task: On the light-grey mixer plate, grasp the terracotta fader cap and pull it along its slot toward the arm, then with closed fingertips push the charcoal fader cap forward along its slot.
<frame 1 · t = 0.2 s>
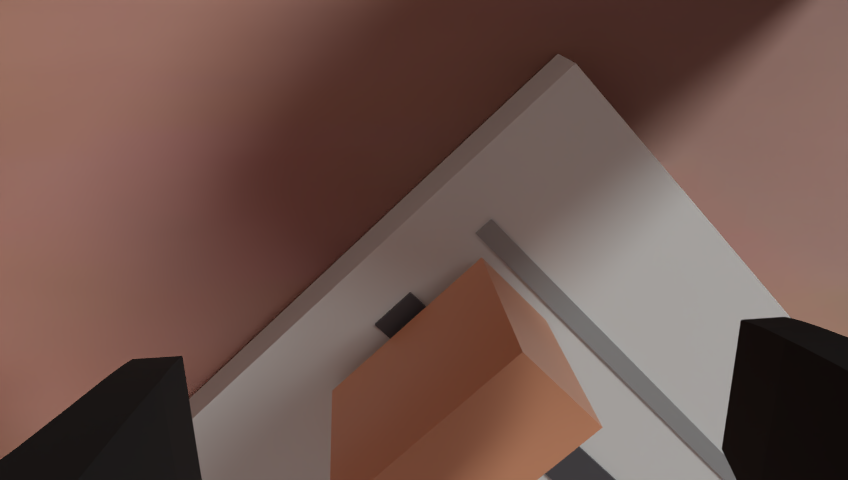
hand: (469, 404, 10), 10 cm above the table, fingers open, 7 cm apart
fader a: (450, 406, 17), point 4 cm above the table, slide at 8.0 cm
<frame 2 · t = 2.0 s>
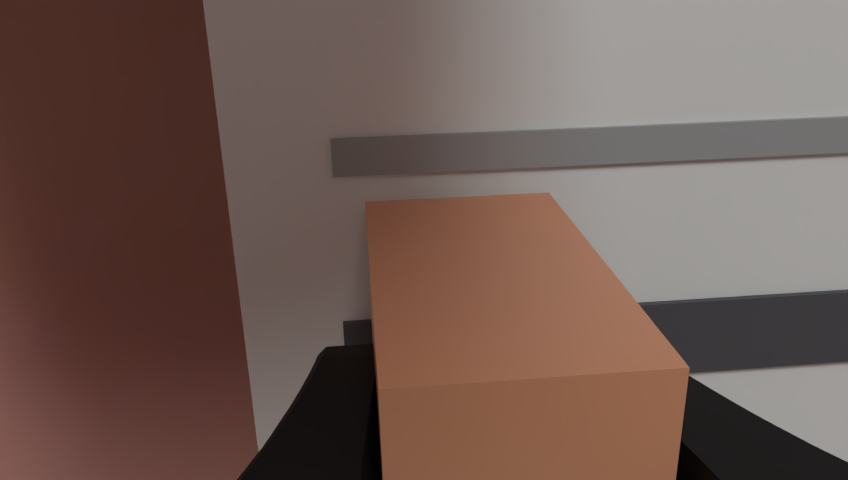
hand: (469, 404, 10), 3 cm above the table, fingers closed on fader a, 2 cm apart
mixer plate: (707, 478, 14), on the table
fader a: (484, 463, 9), point 4 cm above the table, slide at 8.0 cm, touching gripper
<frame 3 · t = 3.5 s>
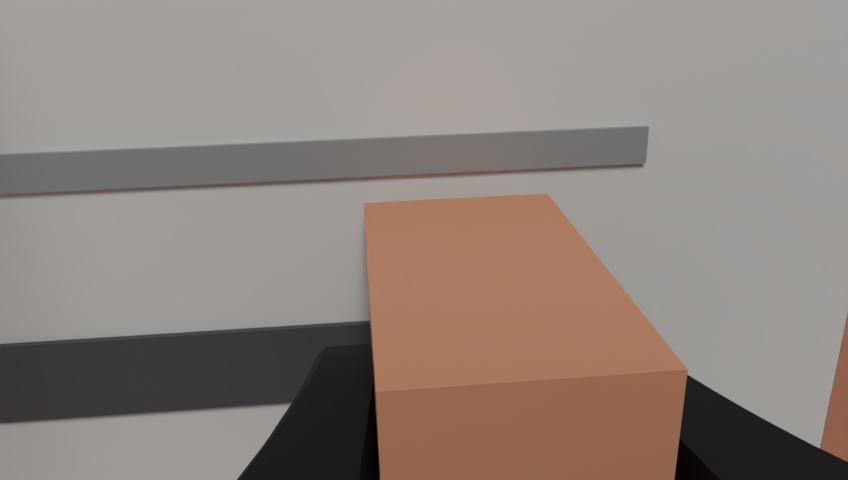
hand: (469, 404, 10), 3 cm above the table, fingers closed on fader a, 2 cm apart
fader a: (483, 465, 9), point 4 cm above the table, slide at 1.0 cm, touching gripper
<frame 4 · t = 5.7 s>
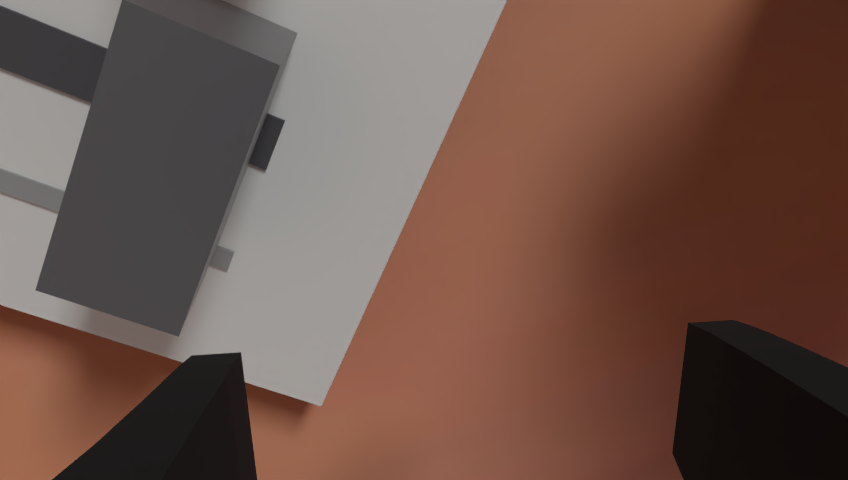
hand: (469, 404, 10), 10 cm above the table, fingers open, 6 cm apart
fader b: (181, 147, 14), point 4 cm above the table, slide at 0.0 cm
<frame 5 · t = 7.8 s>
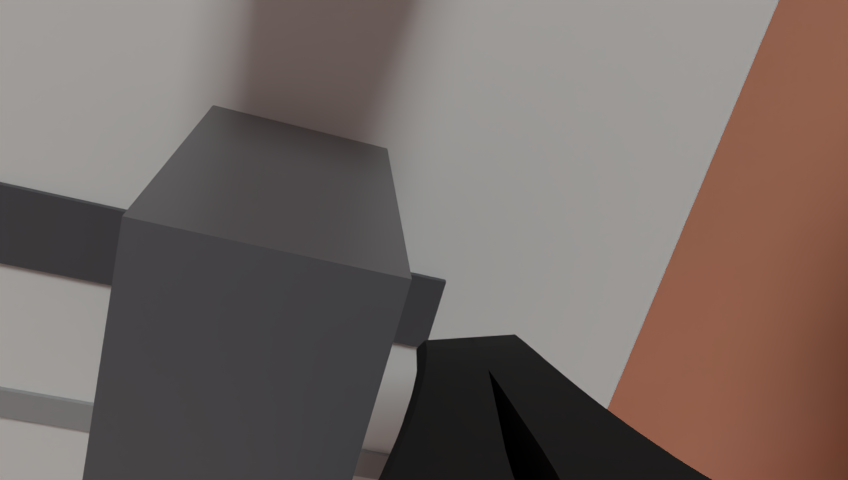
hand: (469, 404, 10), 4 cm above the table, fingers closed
fader b: (246, 367, 9), point 4 cm above the table, slide at 1.1 cm, touching gripper
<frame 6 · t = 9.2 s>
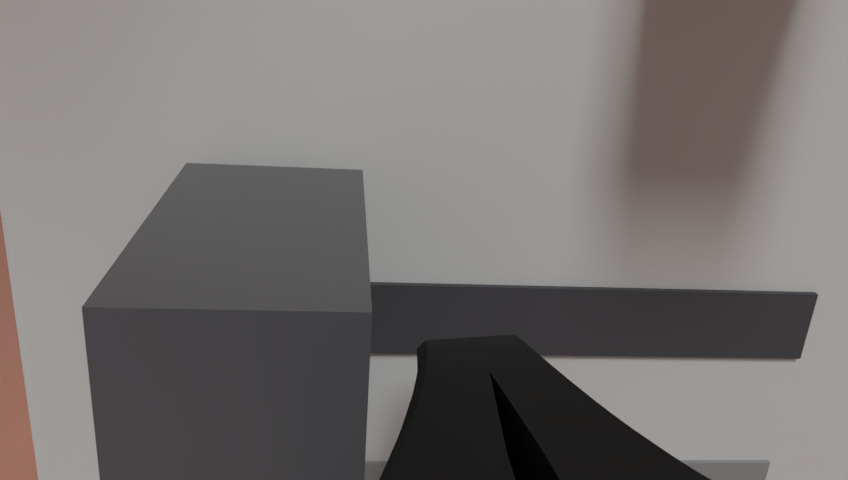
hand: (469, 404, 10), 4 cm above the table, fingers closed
fader b: (260, 411, 9), point 4 cm above the table, slide at 7.1 cm, touching gripper
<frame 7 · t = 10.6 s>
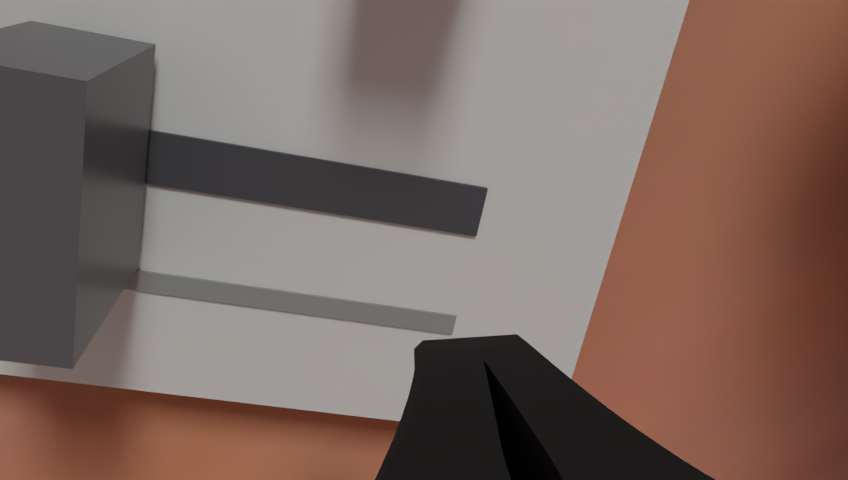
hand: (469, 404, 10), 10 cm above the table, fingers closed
fader b: (50, 182, 14), point 4 cm above the table, slide at 7.1 cm
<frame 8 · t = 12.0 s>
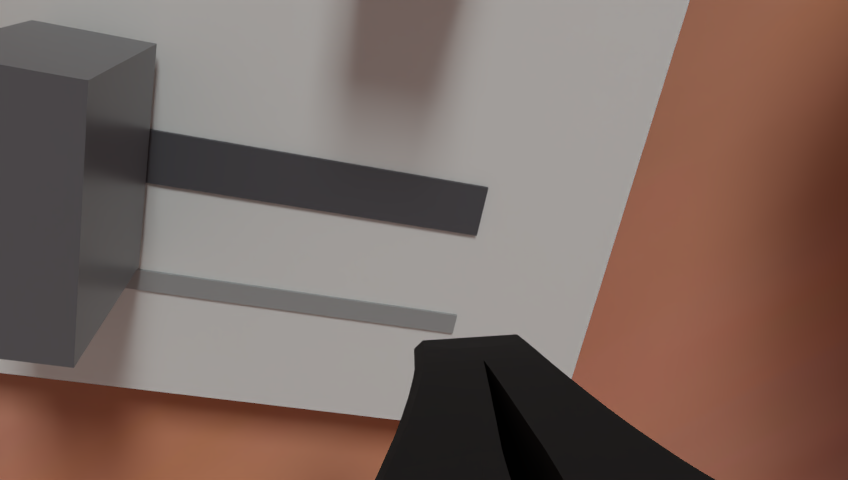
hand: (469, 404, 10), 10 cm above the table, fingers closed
fader b: (51, 181, 14), point 4 cm above the table, slide at 7.1 cm
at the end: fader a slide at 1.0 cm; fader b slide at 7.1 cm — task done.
